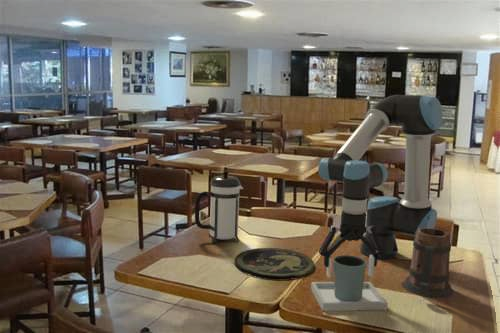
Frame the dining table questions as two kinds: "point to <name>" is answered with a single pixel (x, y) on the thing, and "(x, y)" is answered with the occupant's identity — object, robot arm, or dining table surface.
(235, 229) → the coffee press
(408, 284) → the tankard
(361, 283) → the teal cup
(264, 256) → the decorative plate
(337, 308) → the tray
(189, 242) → the dining table surface
